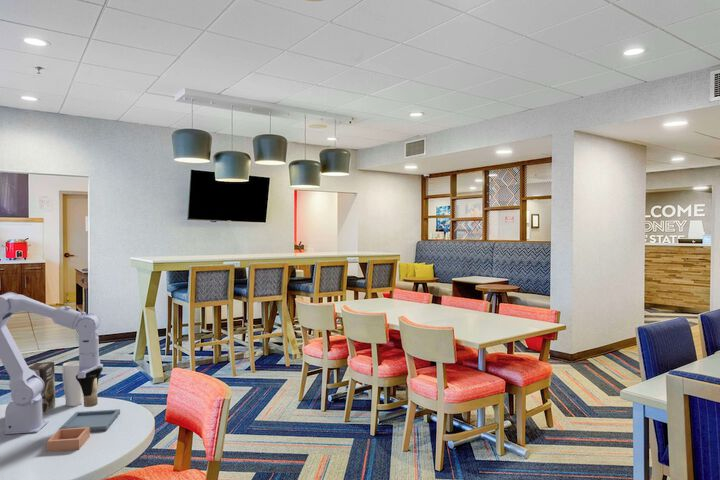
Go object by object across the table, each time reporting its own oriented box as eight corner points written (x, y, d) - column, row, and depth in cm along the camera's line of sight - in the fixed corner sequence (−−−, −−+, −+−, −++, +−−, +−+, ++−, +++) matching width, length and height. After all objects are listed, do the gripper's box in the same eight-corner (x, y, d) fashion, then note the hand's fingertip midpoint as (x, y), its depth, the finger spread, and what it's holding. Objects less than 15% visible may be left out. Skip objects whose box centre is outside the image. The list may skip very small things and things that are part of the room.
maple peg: (81, 407, 162) (81, 381, 162) (86, 402, 166) (85, 377, 166) (95, 406, 163) (94, 380, 163) (99, 402, 167) (98, 377, 167)
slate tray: (58, 433, 157) (58, 429, 157) (76, 416, 171) (76, 411, 171) (106, 430, 159) (106, 426, 159) (120, 413, 173) (120, 409, 173)
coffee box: (44, 415, 171) (43, 369, 171) (24, 416, 170) (22, 369, 170) (56, 405, 180) (55, 361, 180) (36, 406, 179) (35, 362, 179)
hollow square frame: (47, 451, 145) (46, 441, 145) (59, 438, 154) (59, 429, 153) (79, 449, 147) (78, 439, 146) (89, 436, 155) (89, 427, 155)
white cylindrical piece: (89, 401, 185) (87, 360, 184) (76, 408, 178) (75, 366, 177) (71, 400, 185) (70, 360, 185) (59, 407, 179) (57, 365, 178)
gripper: (94, 357, 157) (95, 400, 158) (109, 345, 172) (110, 384, 172) (69, 358, 156) (71, 401, 157) (87, 346, 171) (88, 386, 171)
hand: (90, 393), depth 165 cm, fingers closed on maple peg, 4 cm apart
